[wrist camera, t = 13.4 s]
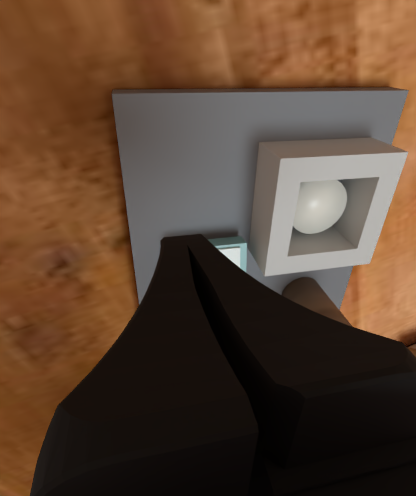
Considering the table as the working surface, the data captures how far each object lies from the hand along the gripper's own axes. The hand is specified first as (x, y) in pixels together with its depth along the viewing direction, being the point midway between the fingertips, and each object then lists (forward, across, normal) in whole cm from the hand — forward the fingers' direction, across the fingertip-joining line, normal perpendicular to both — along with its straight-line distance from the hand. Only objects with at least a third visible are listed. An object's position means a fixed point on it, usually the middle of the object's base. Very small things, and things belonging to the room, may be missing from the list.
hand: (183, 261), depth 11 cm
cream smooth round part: (+8, -9, +2) cm, 12 cm away
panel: (+10, -6, +5) cm, 13 cm away
